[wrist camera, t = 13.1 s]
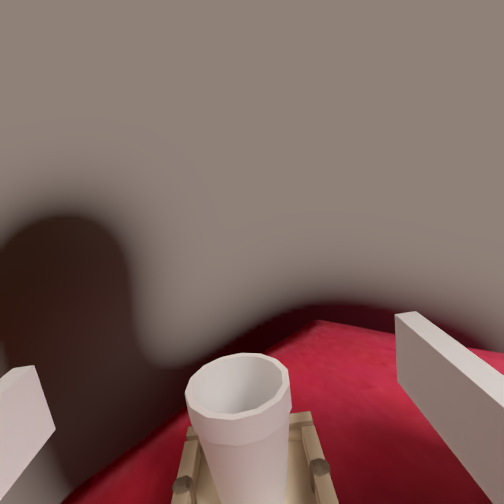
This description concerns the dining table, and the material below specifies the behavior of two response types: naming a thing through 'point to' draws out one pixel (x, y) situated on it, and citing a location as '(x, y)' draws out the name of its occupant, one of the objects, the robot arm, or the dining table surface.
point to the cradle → (298, 469)
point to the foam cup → (243, 426)
